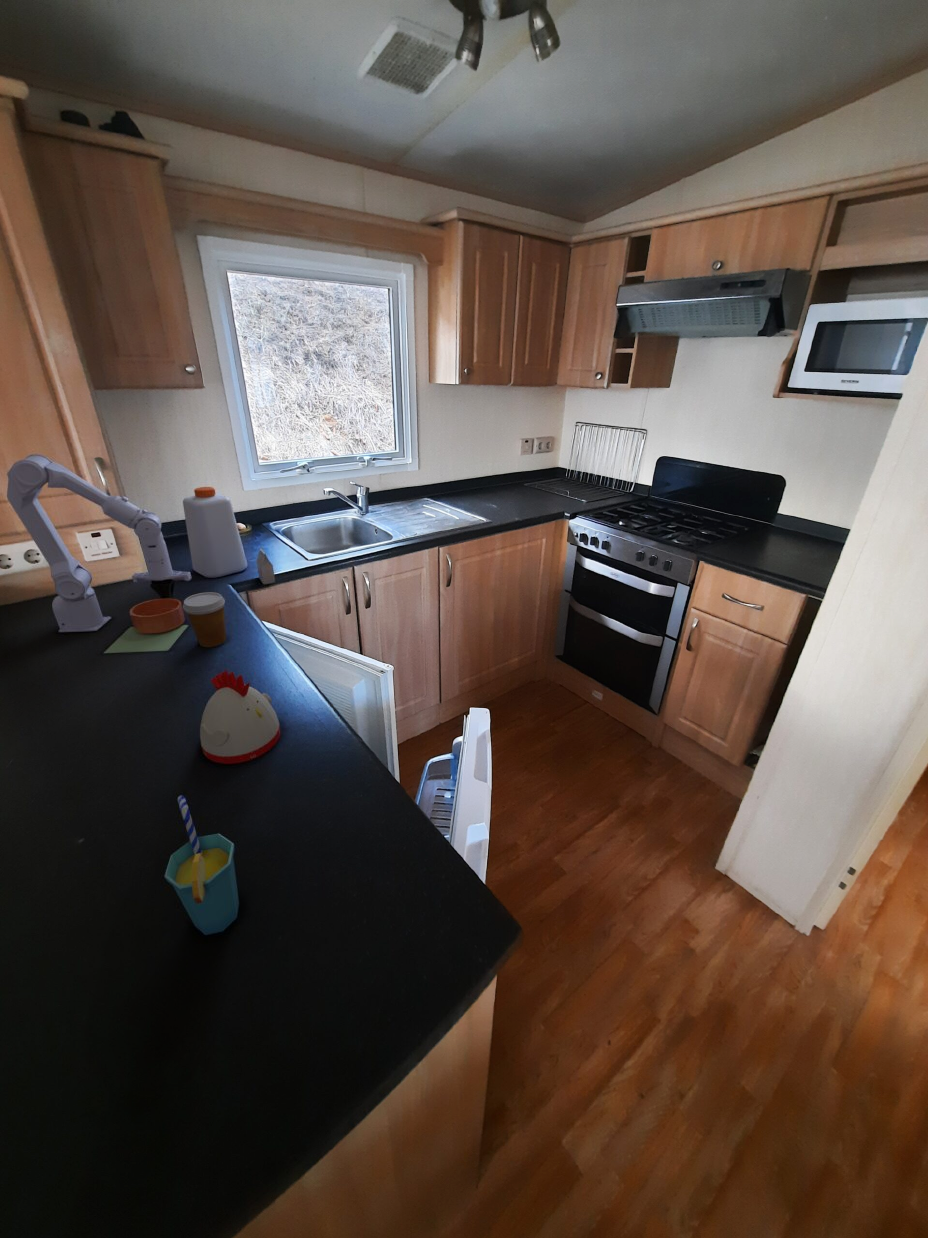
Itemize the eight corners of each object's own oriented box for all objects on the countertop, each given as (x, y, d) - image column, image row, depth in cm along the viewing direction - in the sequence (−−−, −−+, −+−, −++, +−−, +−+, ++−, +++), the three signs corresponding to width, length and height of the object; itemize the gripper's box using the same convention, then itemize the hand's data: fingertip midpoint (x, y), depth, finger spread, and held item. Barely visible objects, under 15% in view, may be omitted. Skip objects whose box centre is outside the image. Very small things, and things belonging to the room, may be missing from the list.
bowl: (126, 636, 132) (120, 617, 129) (147, 616, 143) (142, 598, 140) (175, 634, 133) (170, 615, 131) (192, 615, 144) (187, 597, 142)
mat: (103, 653, 124) (103, 652, 124) (130, 627, 137) (130, 626, 137) (167, 650, 126) (167, 650, 126) (188, 625, 138) (188, 624, 138)
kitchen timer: (245, 771, 89) (229, 701, 82) (185, 752, 93) (165, 684, 86) (295, 725, 101) (284, 660, 94) (239, 709, 105) (225, 647, 98)
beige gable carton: (263, 584, 165) (258, 555, 160) (259, 577, 170) (254, 549, 166) (275, 582, 167) (270, 553, 162) (270, 575, 172) (265, 547, 167)
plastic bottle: (252, 569, 177) (238, 488, 164) (209, 581, 167) (190, 495, 154) (231, 559, 186) (216, 481, 173) (189, 569, 176) (170, 488, 163)
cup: (173, 886, 69) (144, 806, 63) (232, 857, 74) (211, 779, 67) (195, 974, 59) (163, 890, 53) (262, 935, 64) (241, 852, 57)
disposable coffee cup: (217, 652, 126) (207, 608, 120) (184, 648, 127) (172, 605, 122) (240, 635, 134) (231, 593, 129) (208, 631, 136) (198, 589, 130)
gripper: (190, 553, 142) (201, 597, 148) (135, 554, 140) (148, 599, 146) (180, 561, 135) (192, 607, 142) (123, 563, 134) (137, 609, 140)
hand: (169, 604), depth 143 cm, fingers closed, pressing on bowl
